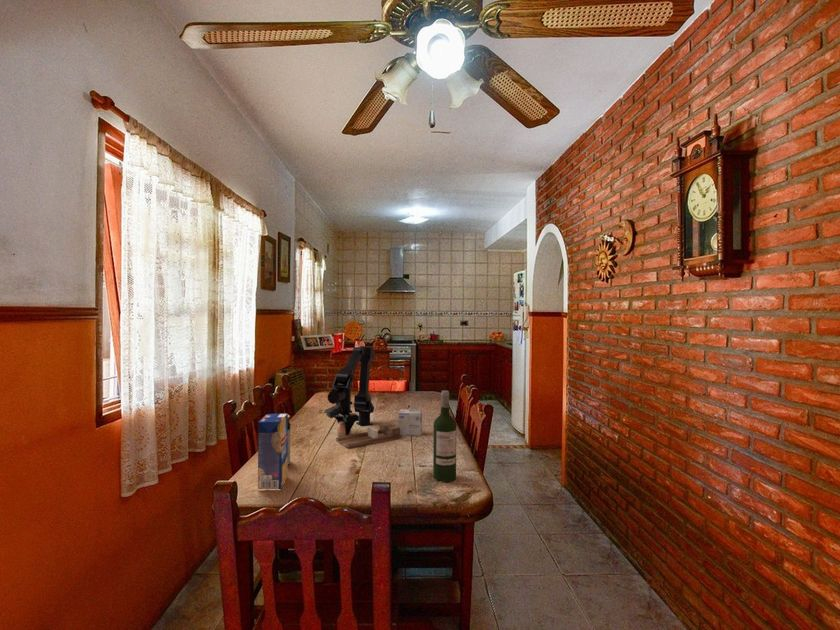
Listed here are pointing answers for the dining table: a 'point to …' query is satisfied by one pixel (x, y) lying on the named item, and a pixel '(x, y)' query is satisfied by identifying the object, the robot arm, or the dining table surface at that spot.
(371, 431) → the bar
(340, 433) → the jar
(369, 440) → the lane
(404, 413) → the white carton
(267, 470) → the beverage box
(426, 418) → the dining table surface
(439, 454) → the wine bottle
